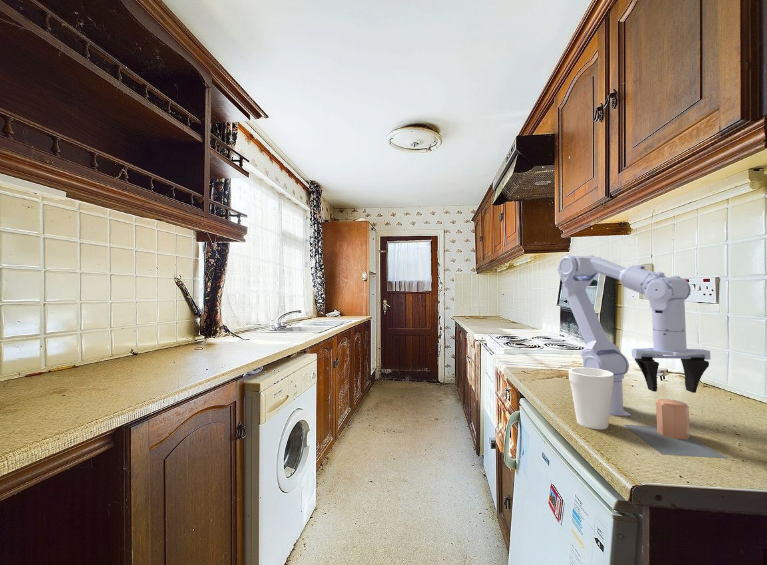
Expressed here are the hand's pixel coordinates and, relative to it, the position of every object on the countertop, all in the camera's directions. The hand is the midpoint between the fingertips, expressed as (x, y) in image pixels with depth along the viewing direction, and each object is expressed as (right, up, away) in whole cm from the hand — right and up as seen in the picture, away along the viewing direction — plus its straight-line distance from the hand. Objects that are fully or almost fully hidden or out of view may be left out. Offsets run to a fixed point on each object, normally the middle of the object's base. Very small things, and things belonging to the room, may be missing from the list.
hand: (671, 390), depth 76 cm
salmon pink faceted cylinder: (0, -10, 0) cm, 10 cm away
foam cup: (-14, -11, +6) cm, 19 cm away
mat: (-3, -10, -3) cm, 11 cm away
